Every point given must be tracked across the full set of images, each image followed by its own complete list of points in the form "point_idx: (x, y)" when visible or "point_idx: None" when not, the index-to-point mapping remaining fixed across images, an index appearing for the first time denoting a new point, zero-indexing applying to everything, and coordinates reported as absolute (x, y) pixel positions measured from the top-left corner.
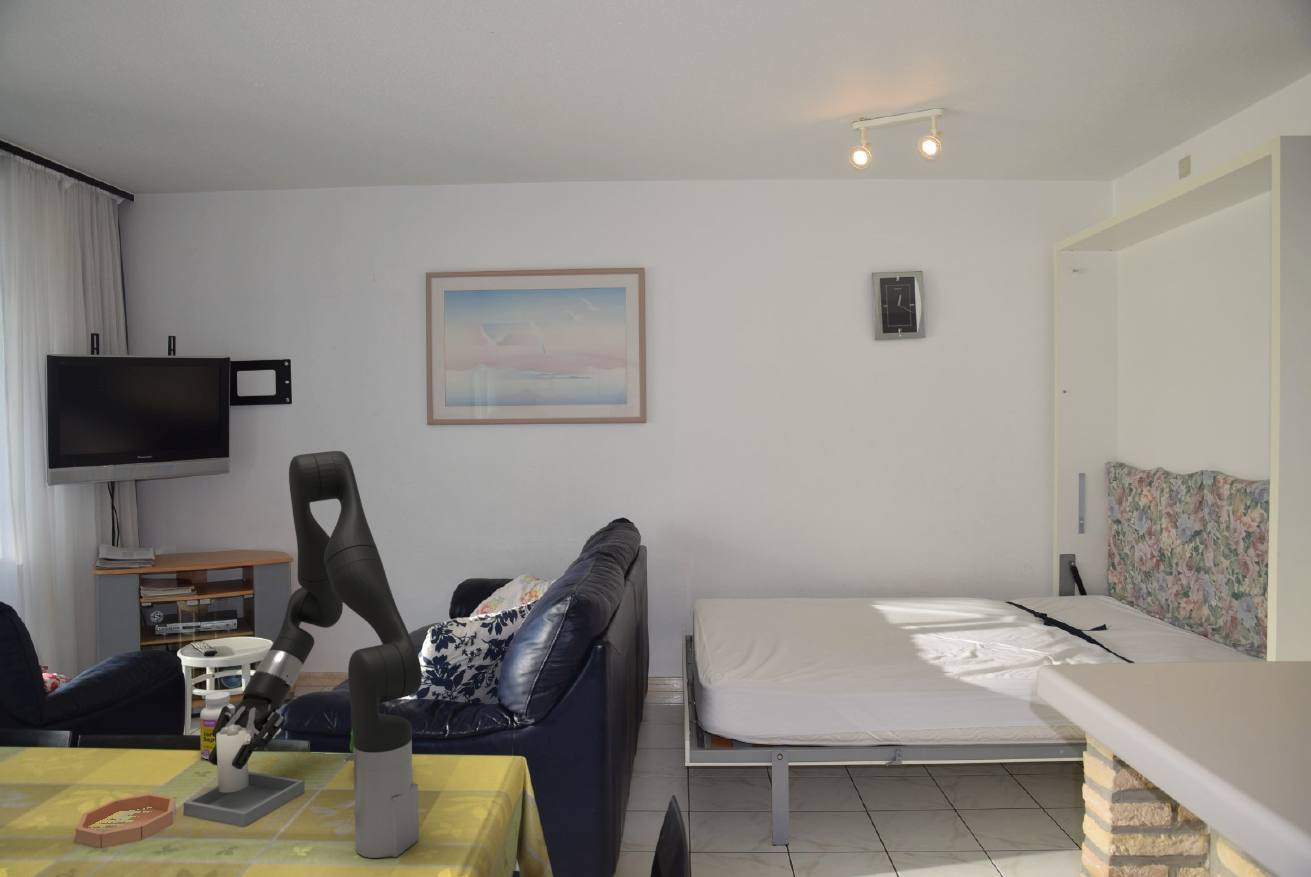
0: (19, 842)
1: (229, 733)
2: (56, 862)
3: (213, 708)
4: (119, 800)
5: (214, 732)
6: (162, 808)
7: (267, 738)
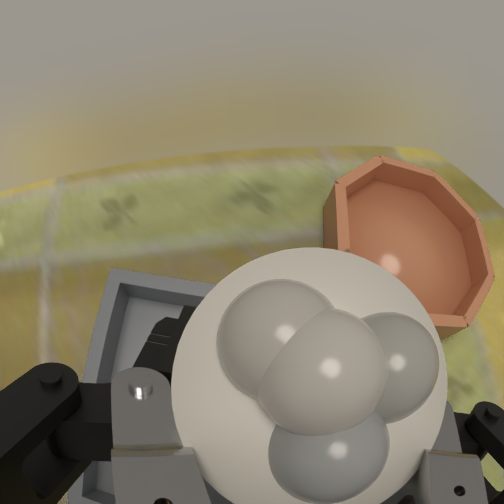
0: (489, 200)
1: (276, 279)
2: (395, 154)
3: None
4: (486, 278)
5: (495, 410)
6: None
7: (42, 466)
